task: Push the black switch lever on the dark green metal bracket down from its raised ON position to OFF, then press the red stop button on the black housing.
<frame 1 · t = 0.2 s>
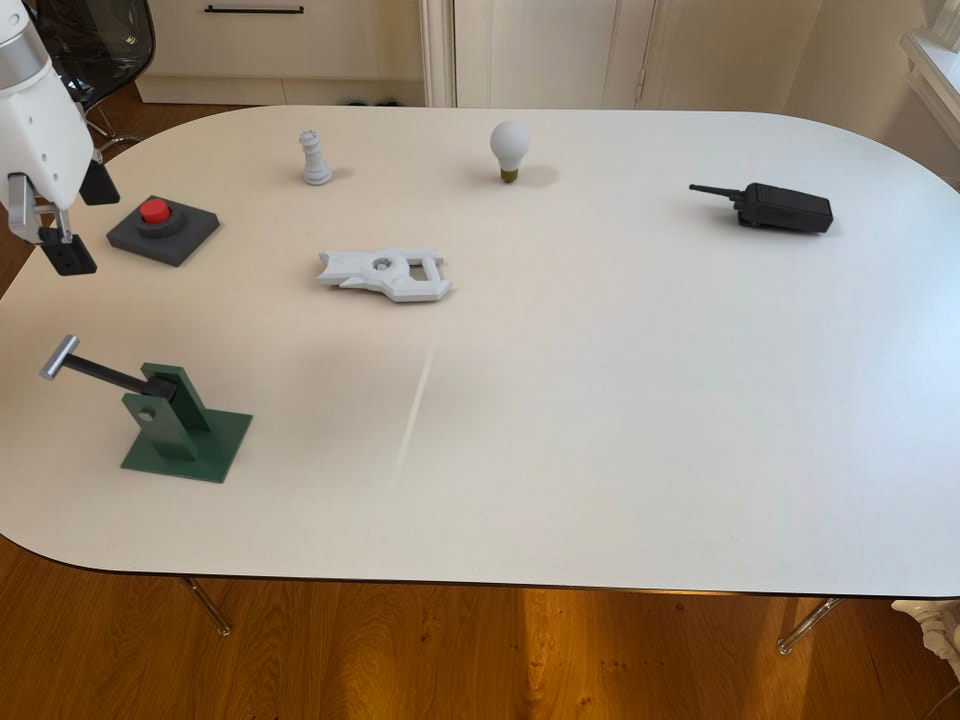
hand: (92, 236, 65), 26 cm above the table, tool pointing down, fingers open, 9 cm apart
stop button: (155, 211, 101), point 4 cm above the table, slide at 0.1 cm
switch lever: (113, 376, 72), point 12 cm above the table, hinge at 25.0°
gun: (386, 282, 97), on the table
rook chess piece: (318, 179, 113), on the table
light bulb: (509, 181, 111), on the table
walkie-talkie: (752, 223, 104), on the table
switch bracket: (191, 445, 81), on the table
button box: (166, 235, 104), on the table
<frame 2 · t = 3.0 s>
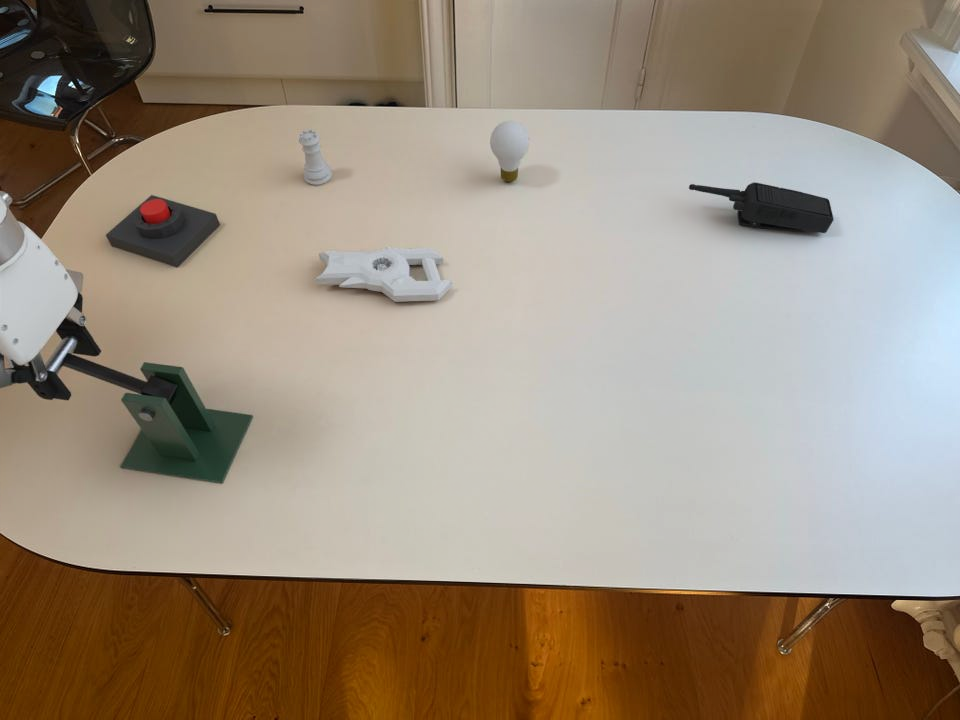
hand: (71, 373, 73), 12 cm above the table, tool pointing down, fingers closed on switch lever, 5 cm apart
switch lever: (113, 376, 72), point 12 cm above the table, hinge at 25.0°, touching gripper
everything else where it was.
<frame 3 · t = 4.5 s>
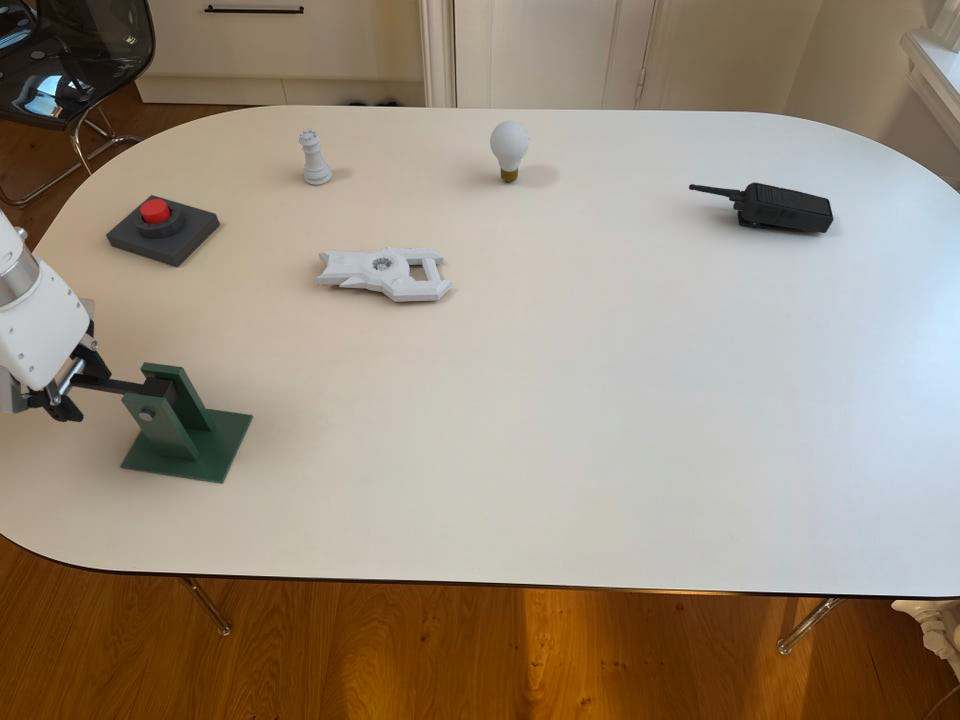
hand: (84, 395, 76), 8 cm above the table, tool pointing down, fingers closed on switch lever, 5 cm apart
switch lever: (116, 386, 73), point 10 cm above the table, hinge at 2.7°, touching gripper
everything else where it was.
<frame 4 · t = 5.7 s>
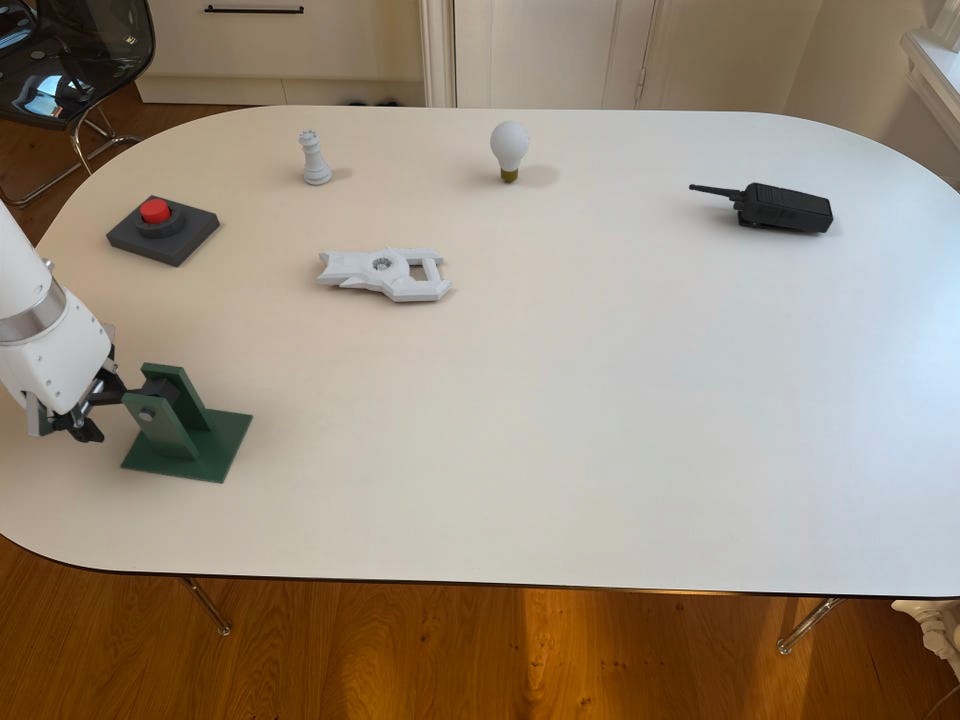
hand: (104, 416, 79), 4 cm above the table, tool pointing down, fingers open, 5 cm apart
switch lever: (125, 396, 75), point 9 cm above the table, hinge at -18.5°
everything else where it was.
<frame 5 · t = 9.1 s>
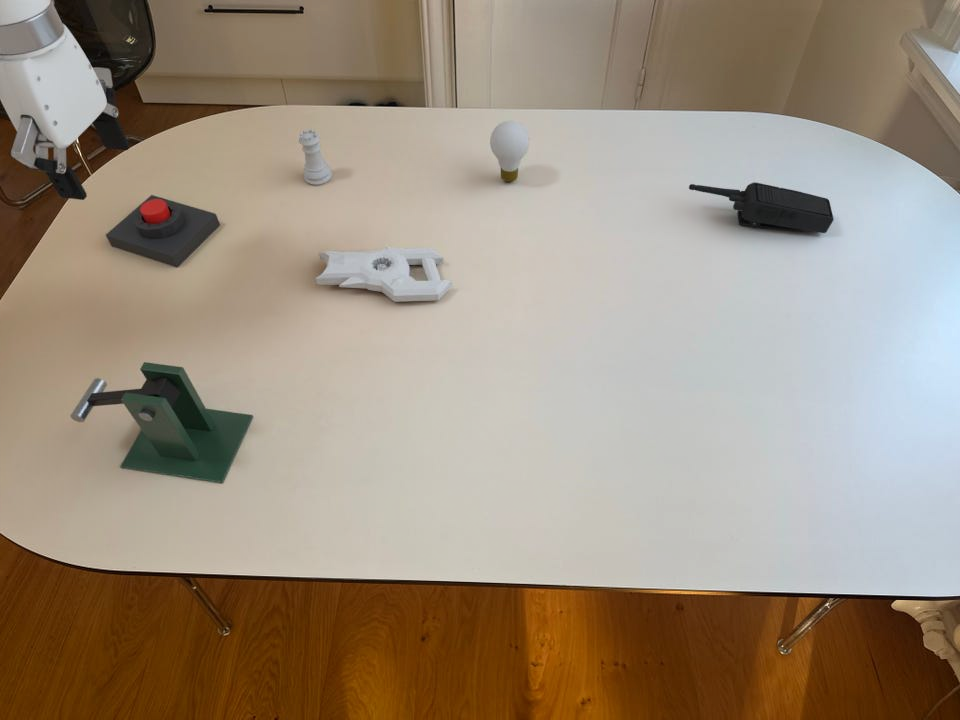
hand: (97, 171, 83), 19 cm above the table, tool pointing down, fingers open, 9 cm apart
nothing on the table moved.
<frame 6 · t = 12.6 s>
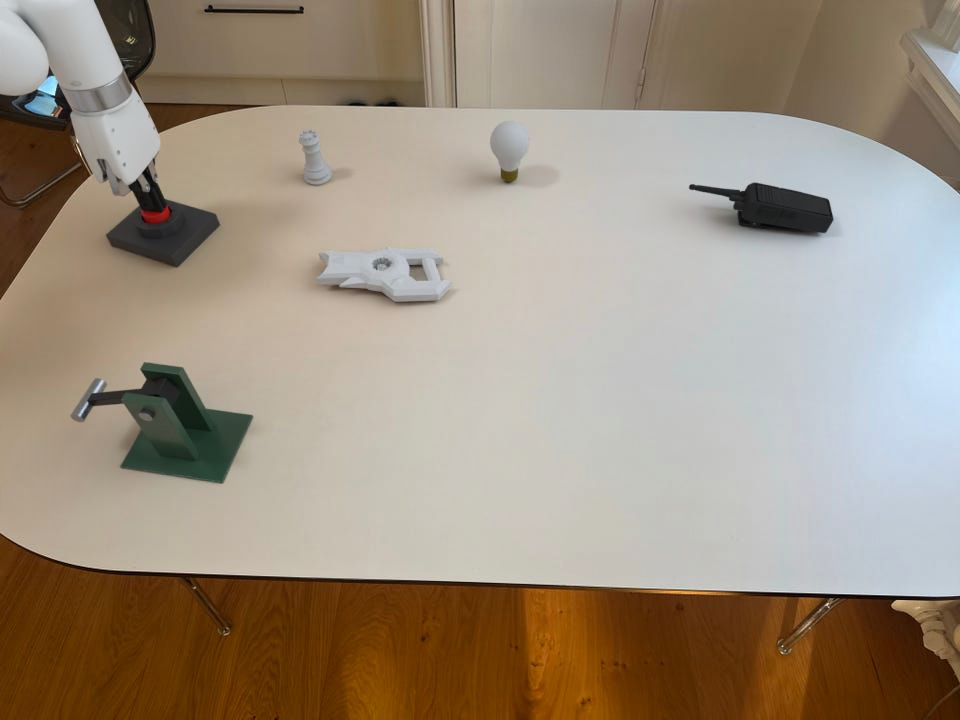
hand: (155, 208, 100), 5 cm above the table, tool pointing down, fingers closed
stop button: (156, 213, 101), point 4 cm above the table, slide at -0.3 cm, touching gripper
everything else where it was.
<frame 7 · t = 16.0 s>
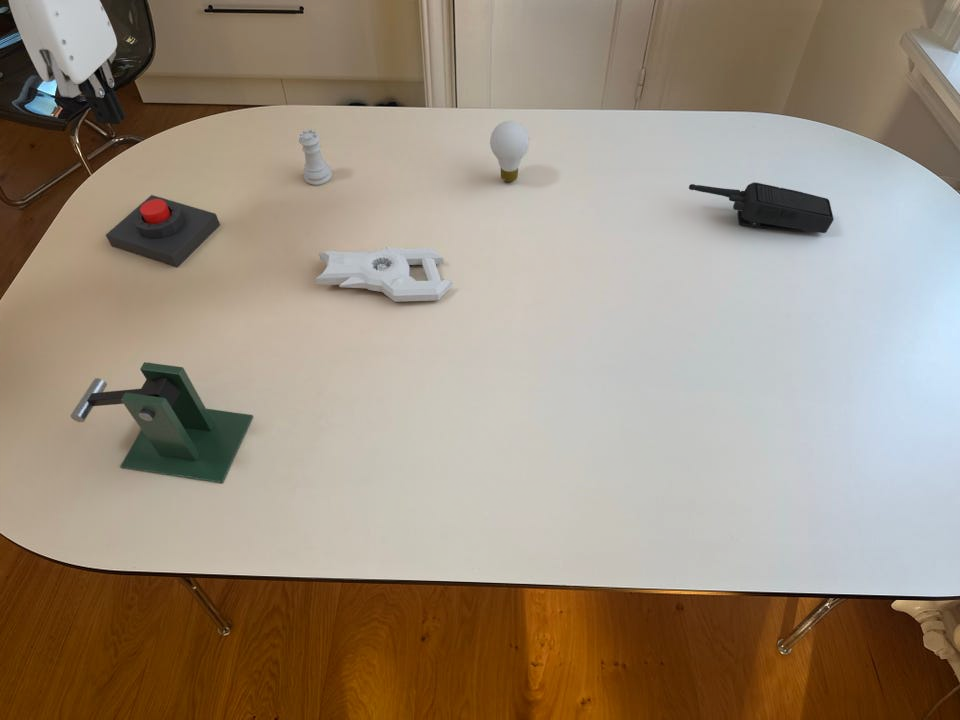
hand: (112, 120, 89), 19 cm above the table, tool pointing down, fingers closed
stop button: (155, 211, 101), point 4 cm above the table, slide at 0.1 cm
everything else where it was.
at the end: switch lever at -18° (first picture: +25°); stop button pushed in 1.1 cm at the most during the clip, back to where it started at the end; stop button slide at 0.1 cm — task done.
